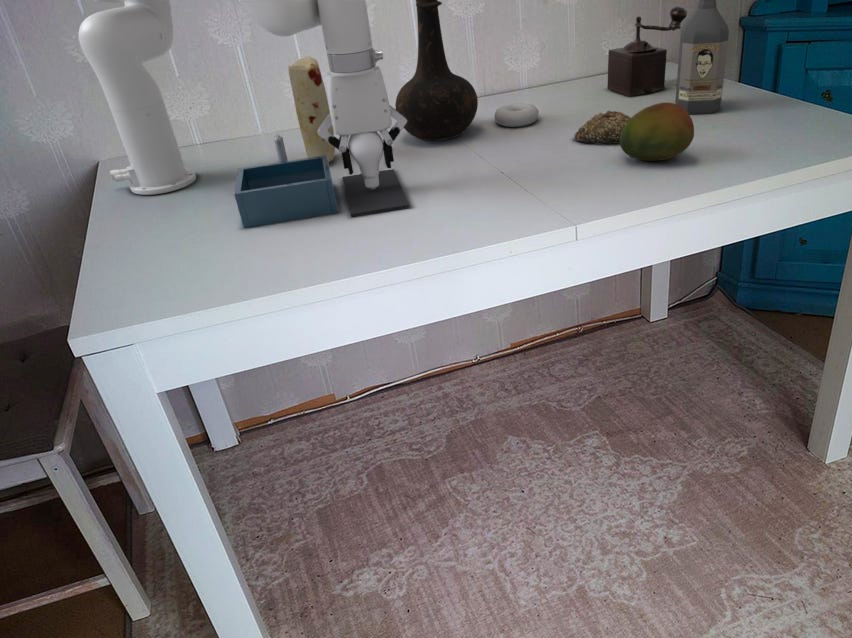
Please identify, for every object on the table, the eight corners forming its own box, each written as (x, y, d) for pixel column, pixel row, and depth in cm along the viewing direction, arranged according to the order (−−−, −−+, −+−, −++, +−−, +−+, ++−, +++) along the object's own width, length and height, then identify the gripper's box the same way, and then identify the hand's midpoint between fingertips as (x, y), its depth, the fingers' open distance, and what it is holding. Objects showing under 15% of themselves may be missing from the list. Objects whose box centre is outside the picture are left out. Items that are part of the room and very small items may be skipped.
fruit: (700, 163, 127) (706, 106, 121) (637, 175, 124) (640, 117, 119) (668, 146, 136) (672, 92, 130) (609, 156, 134) (611, 102, 128)
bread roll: (632, 146, 138) (633, 120, 135) (570, 144, 141) (570, 119, 139) (641, 127, 147) (643, 103, 145) (584, 126, 151) (584, 102, 148)
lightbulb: (396, 187, 127) (387, 125, 120) (370, 197, 123) (360, 135, 117) (375, 181, 130) (365, 121, 124) (349, 191, 127) (338, 130, 121)
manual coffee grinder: (631, 98, 167) (634, 15, 157) (606, 89, 176) (608, 10, 166) (684, 87, 172) (691, 6, 162) (657, 79, 181) (662, 2, 171)
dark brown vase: (404, 152, 146) (384, 3, 130) (395, 129, 160) (376, -7, 145) (487, 140, 148) (477, -7, 132) (471, 119, 163) (460, -16, 147)
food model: (341, 164, 142) (321, 60, 131) (308, 170, 141) (285, 65, 130) (337, 151, 150) (318, 51, 139) (306, 156, 149) (284, 56, 138)
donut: (525, 131, 152) (546, 117, 159) (524, 115, 150) (546, 102, 157) (486, 127, 157) (509, 114, 164) (485, 111, 155) (508, 99, 162)
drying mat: (351, 217, 118) (350, 213, 118) (342, 179, 134) (342, 176, 134) (409, 207, 120) (409, 204, 119) (394, 171, 136) (393, 168, 136)
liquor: (674, 104, 160) (685, -47, 143) (715, 102, 159) (732, -50, 142) (677, 115, 153) (690, -42, 136) (721, 113, 151) (739, -46, 134)
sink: (243, 228, 118) (226, 166, 112) (247, 196, 131) (231, 139, 125) (338, 212, 120) (326, 151, 114) (332, 182, 133) (321, 126, 127)
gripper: (400, 51, 119) (414, 155, 129) (298, 64, 116) (320, 170, 126) (406, 59, 113) (420, 168, 123) (299, 73, 110) (322, 183, 120)
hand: (369, 168), depth 124 cm, fingers closed on lightbulb, 6 cm apart
